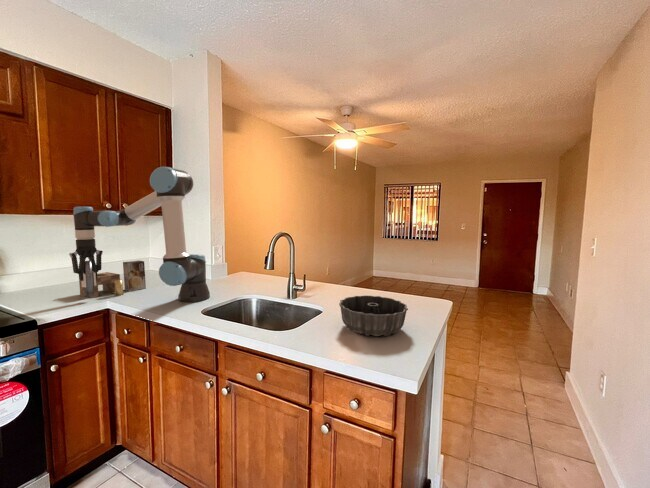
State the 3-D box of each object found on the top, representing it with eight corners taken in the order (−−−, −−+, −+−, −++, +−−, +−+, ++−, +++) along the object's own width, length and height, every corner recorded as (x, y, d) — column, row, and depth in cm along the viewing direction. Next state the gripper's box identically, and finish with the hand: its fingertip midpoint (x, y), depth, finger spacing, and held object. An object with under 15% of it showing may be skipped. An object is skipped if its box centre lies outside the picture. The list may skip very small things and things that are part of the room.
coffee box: (141, 286, 185) (140, 260, 183) (146, 288, 181) (144, 261, 179) (124, 289, 177) (122, 261, 176) (128, 291, 174) (127, 263, 172)
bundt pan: (396, 317, 136) (397, 294, 135) (416, 342, 110) (417, 314, 109) (336, 317, 135) (336, 294, 134) (341, 342, 109) (342, 314, 108)
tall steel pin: (95, 294, 154) (93, 260, 152) (87, 296, 151) (84, 261, 149) (91, 293, 156) (89, 260, 154) (83, 295, 152) (80, 261, 151)
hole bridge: (120, 292, 172) (119, 274, 171) (92, 297, 160) (90, 278, 159) (108, 289, 178) (107, 272, 177) (80, 294, 165) (78, 276, 164)
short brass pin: (124, 294, 167) (123, 280, 166) (117, 296, 163) (116, 281, 163) (120, 293, 168) (120, 279, 167) (113, 295, 165) (112, 280, 164)
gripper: (100, 237, 160) (103, 282, 162) (60, 239, 145) (64, 288, 147) (108, 237, 156) (111, 283, 158) (68, 240, 141) (72, 290, 144)
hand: (89, 286), depth 153 cm, fingers closed on tall steel pin, 3 cm apart
